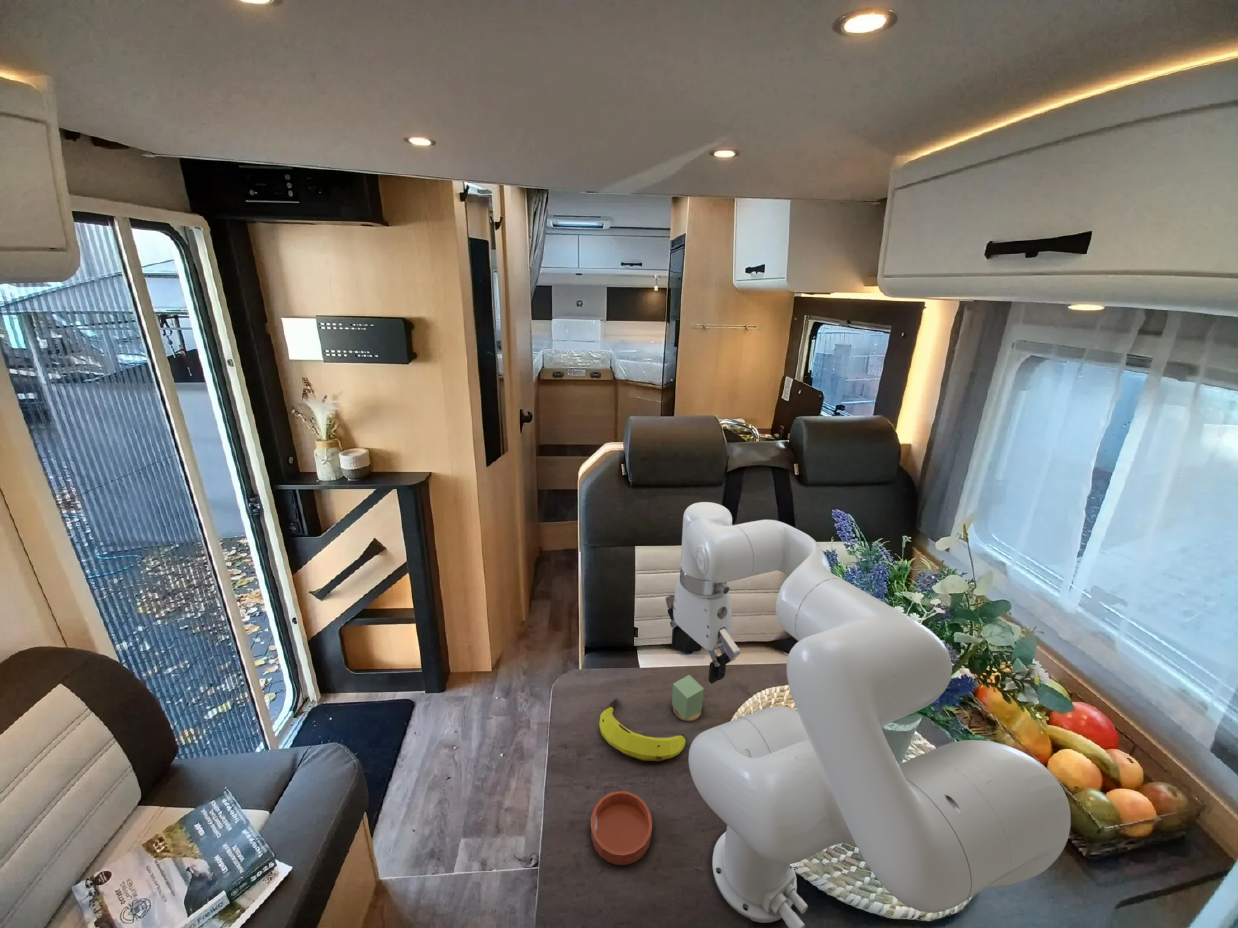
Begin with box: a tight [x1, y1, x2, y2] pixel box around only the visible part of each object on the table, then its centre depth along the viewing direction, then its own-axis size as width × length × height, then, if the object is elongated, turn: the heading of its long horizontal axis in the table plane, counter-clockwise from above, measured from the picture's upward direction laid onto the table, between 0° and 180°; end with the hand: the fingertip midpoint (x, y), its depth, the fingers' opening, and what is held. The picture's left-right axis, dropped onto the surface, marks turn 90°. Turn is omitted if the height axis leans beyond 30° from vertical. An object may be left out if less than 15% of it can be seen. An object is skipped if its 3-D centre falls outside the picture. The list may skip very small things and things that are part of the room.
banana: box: [598, 698, 687, 762], centre depth 97 cm, size 5×17×15 cm
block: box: [671, 674, 705, 720], centre depth 102 cm, size 5×5×6 cm
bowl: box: [590, 790, 653, 866], centre depth 80 cm, size 10×10×3 cm
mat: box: [672, 706, 702, 722], centre depth 103 cm, size 6×6×1 cm
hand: (697, 661), depth 84 cm, fingers open, 9 cm apart
